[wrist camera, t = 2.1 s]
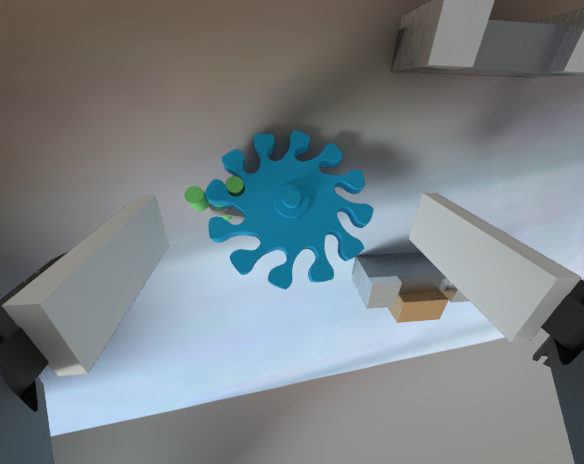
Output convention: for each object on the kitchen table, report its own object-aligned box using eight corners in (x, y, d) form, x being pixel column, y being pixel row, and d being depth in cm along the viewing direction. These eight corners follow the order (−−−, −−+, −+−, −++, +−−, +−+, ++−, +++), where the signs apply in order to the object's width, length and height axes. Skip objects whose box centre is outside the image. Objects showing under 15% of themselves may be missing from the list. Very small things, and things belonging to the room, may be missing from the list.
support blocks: (348, 292, 24) (363, 325, 21) (401, 16, 14) (449, -11, 10) (441, 286, 25) (470, 316, 22) (554, 27, 15) (644, 6, 11)
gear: (380, 138, 15) (374, 300, 12) (349, 182, 21) (341, 300, 18) (205, 106, 15) (157, 269, 12) (222, 160, 20) (193, 279, 18)
